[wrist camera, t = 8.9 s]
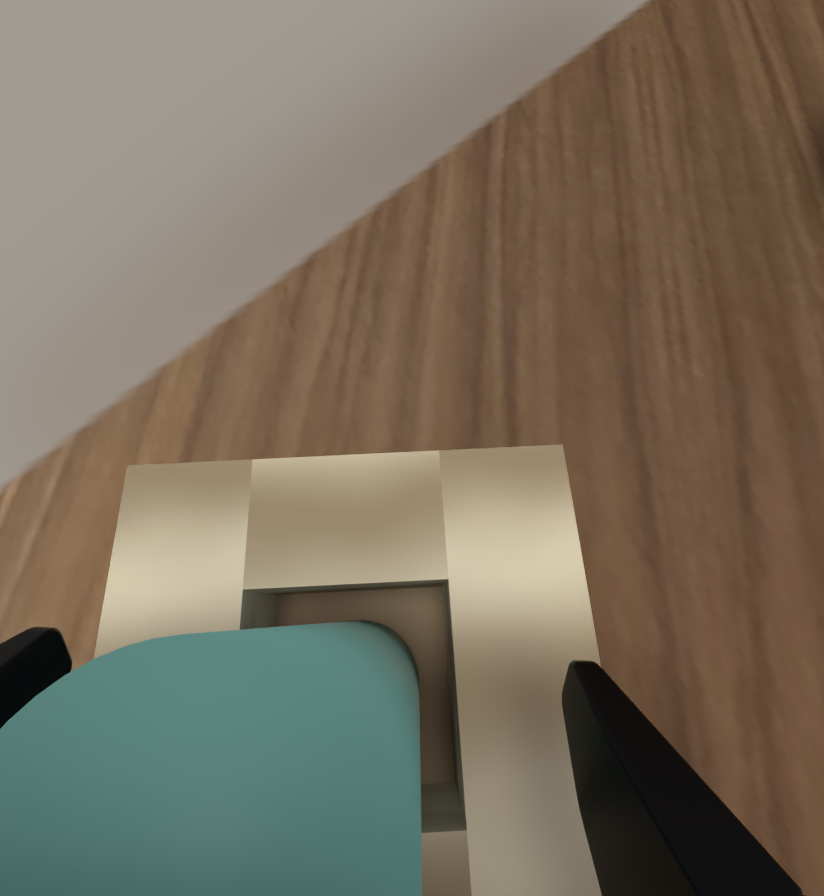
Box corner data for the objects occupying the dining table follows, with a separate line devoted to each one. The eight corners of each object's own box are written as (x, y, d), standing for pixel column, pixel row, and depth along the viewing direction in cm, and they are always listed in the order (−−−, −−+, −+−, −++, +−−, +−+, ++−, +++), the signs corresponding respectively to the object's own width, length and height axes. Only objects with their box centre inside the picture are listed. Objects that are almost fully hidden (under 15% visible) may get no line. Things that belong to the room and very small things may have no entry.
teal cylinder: (439, 713, 15) (525, 1101, 3) (329, 776, 15) (-103, 1554, 3) (388, 599, 17) (304, 556, 4) (284, 653, 16) (-151, 777, 4)
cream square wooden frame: (598, 928, 14) (666, 1045, 10) (128, 955, 14) (19, 1084, 10) (533, 479, 19) (562, 444, 15) (185, 496, 18) (127, 465, 15)
